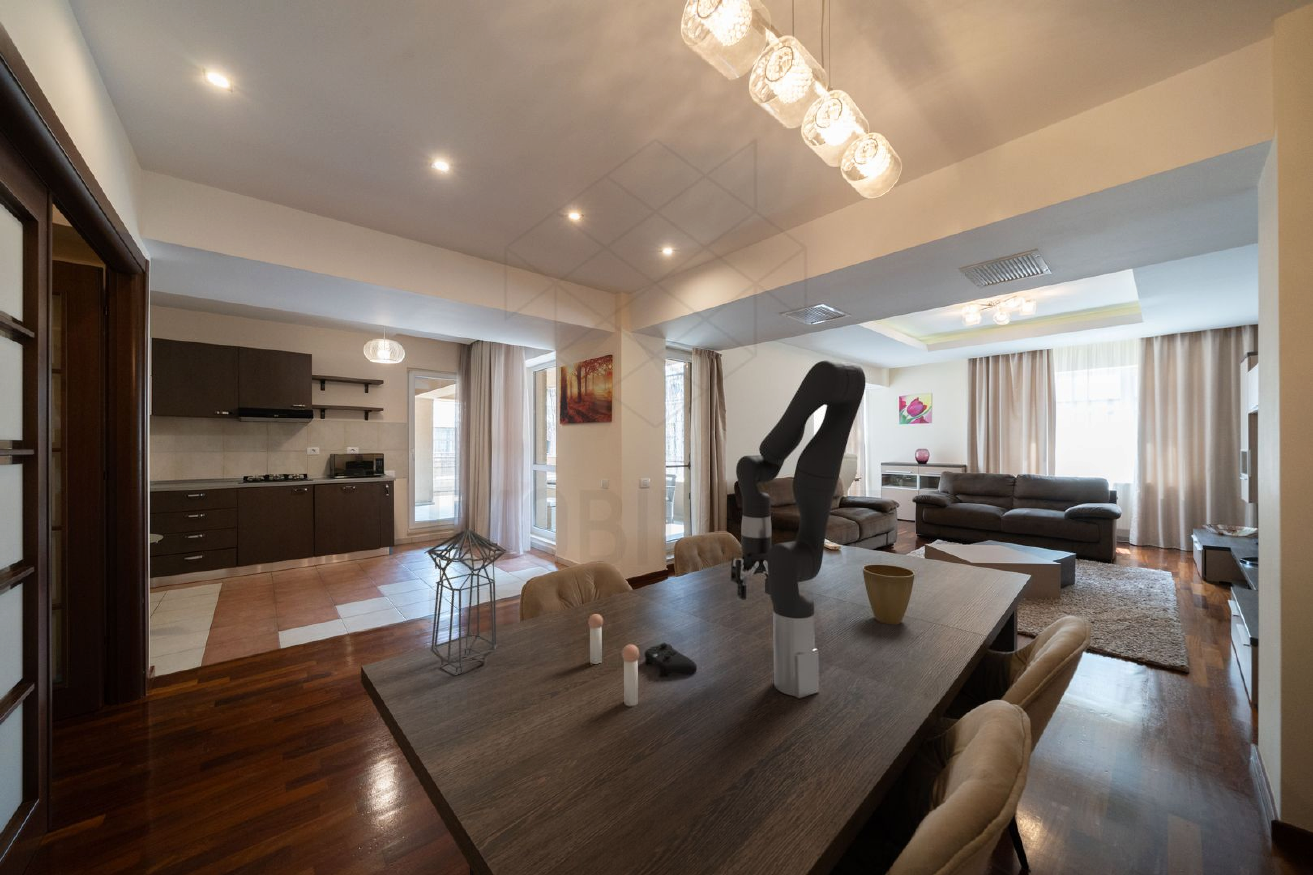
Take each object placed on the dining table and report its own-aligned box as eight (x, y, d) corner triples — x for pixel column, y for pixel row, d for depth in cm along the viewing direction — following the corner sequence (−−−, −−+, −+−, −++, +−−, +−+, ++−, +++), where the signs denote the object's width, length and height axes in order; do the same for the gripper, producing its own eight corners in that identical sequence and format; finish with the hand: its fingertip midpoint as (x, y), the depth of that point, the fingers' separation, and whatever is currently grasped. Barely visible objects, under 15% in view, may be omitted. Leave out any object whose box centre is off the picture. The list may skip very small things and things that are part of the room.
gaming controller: (701, 655, 117) (667, 656, 113) (698, 680, 117) (663, 683, 112) (671, 636, 130) (639, 636, 125) (668, 658, 129) (636, 660, 124)
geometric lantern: (475, 648, 133) (478, 523, 134) (507, 665, 123) (510, 530, 124) (418, 667, 121) (421, 530, 122) (448, 688, 111) (452, 538, 112)
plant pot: (866, 626, 146) (865, 574, 146) (860, 610, 160) (859, 562, 160) (920, 631, 141) (919, 577, 142) (910, 614, 156) (908, 565, 156)
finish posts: (642, 704, 103) (642, 646, 103) (626, 708, 101) (626, 650, 102) (600, 657, 126) (599, 610, 126) (586, 661, 124) (586, 613, 124)
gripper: (743, 538, 115) (742, 605, 115) (787, 533, 122) (787, 596, 122) (724, 533, 122) (724, 596, 122) (768, 528, 128) (767, 588, 129)
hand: (755, 596), depth 122 cm, fingers open, 8 cm apart
